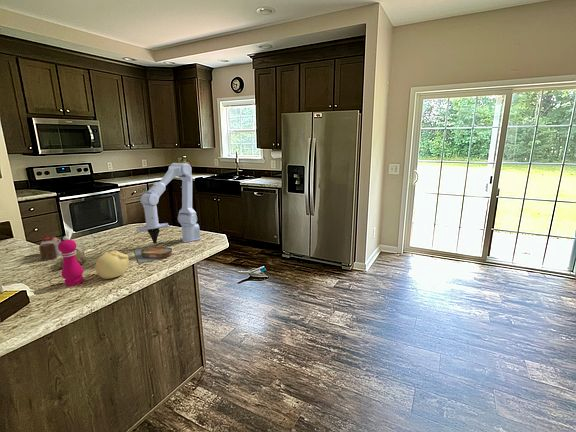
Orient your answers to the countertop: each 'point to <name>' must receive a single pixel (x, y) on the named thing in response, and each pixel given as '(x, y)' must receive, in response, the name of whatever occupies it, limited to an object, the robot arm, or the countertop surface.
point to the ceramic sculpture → (79, 257)
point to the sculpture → (111, 264)
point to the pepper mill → (70, 263)
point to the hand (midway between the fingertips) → (154, 243)
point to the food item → (49, 248)
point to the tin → (156, 252)
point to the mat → (143, 259)
